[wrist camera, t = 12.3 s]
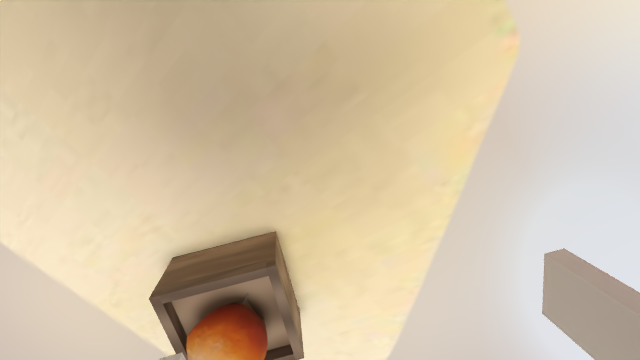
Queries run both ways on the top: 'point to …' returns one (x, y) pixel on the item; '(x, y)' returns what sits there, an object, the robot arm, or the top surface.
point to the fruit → (229, 335)
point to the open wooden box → (231, 292)
